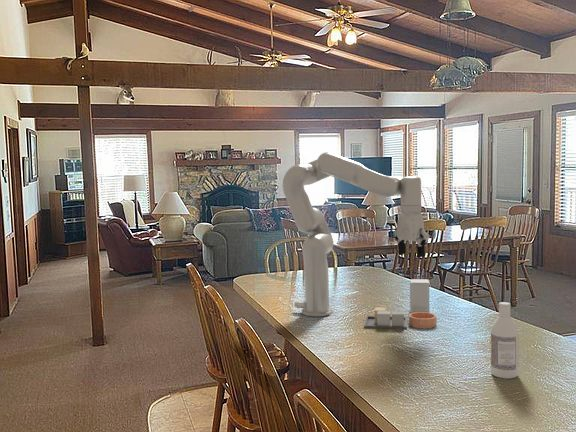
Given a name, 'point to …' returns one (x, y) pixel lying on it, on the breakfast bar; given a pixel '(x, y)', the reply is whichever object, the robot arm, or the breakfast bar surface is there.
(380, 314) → the grey cube
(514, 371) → the bath foam
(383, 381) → the breakfast bar surface
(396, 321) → the grey cube
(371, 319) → the tray
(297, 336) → the breakfast bar surface
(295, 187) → the robot arm
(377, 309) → the beige rectangular block
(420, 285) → the supplement box
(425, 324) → the bowl
